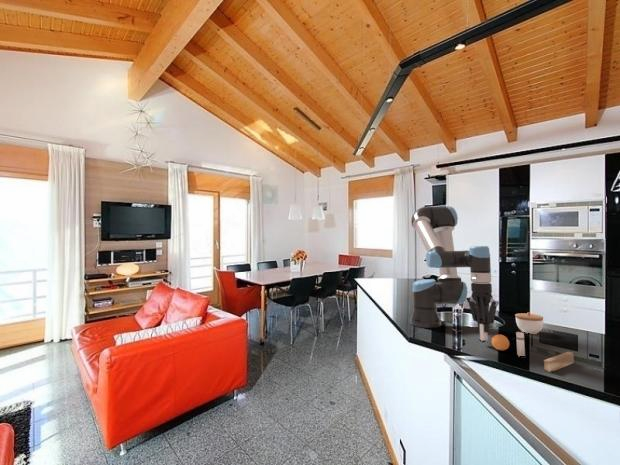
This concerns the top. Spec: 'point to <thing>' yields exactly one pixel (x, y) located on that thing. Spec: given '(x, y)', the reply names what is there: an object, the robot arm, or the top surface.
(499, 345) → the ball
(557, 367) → the wall
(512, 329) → the top surface
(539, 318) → the lidded jar
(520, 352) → the pin
